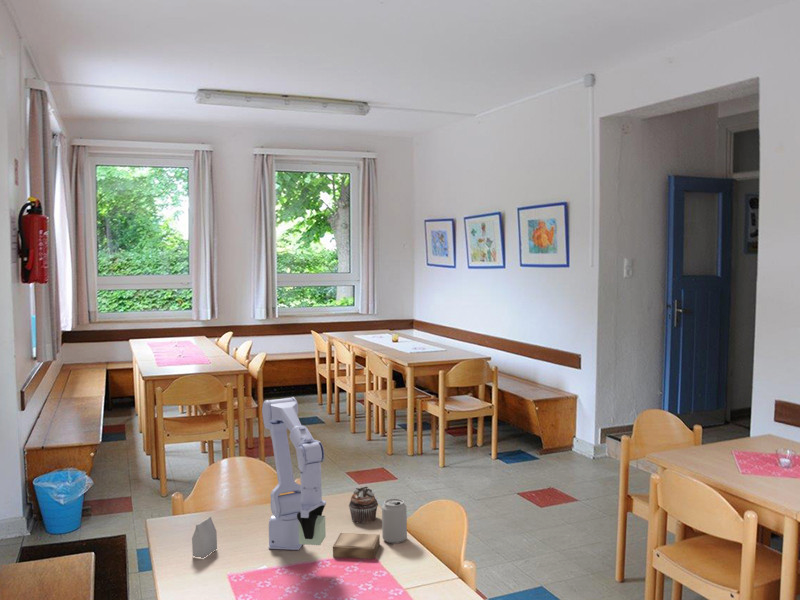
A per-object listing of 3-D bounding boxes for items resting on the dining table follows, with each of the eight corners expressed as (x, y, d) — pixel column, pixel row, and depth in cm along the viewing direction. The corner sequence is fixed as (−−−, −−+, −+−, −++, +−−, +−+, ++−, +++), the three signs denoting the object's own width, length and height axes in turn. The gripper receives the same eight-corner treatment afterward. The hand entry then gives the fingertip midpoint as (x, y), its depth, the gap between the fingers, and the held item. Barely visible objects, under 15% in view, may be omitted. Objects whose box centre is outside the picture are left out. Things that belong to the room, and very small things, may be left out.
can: (404, 545, 211) (403, 506, 210) (380, 543, 213) (379, 504, 212) (409, 535, 219) (408, 497, 218) (385, 533, 220) (384, 496, 219)
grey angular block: (217, 550, 210) (216, 517, 209) (203, 559, 204) (202, 525, 203) (206, 548, 211) (205, 516, 210) (192, 557, 205) (191, 524, 204)
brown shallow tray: (332, 556, 204) (332, 546, 204) (340, 542, 214) (340, 532, 214) (373, 558, 202) (373, 548, 202) (379, 544, 212) (379, 534, 212)
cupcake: (343, 517, 234) (342, 488, 233) (367, 511, 240) (367, 482, 239) (359, 526, 226) (358, 496, 226) (384, 519, 232) (383, 489, 231)
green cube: (298, 544, 194) (298, 522, 193) (304, 535, 200) (304, 514, 199) (320, 545, 193) (319, 523, 193) (325, 536, 199) (325, 515, 199)
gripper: (318, 495, 188) (319, 545, 189) (331, 477, 202) (332, 524, 203) (292, 494, 189) (293, 543, 190) (307, 477, 203) (308, 523, 204)
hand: (312, 533), depth 196 cm, fingers closed on green cube, 6 cm apart
